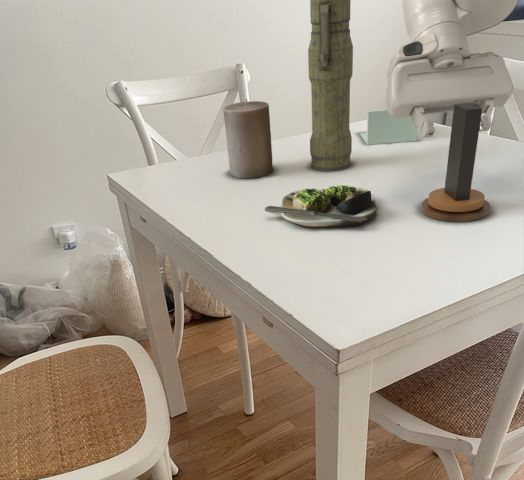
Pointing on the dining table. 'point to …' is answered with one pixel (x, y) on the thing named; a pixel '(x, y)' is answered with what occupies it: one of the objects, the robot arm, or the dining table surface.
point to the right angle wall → (388, 128)
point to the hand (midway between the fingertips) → (457, 132)
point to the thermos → (330, 84)
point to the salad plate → (327, 207)
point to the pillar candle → (248, 139)
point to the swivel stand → (455, 213)
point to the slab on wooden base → (460, 163)
